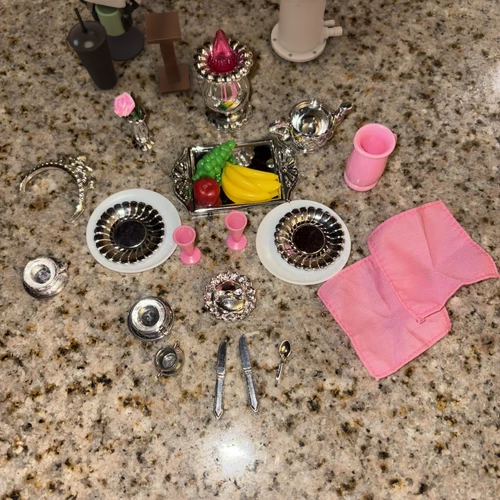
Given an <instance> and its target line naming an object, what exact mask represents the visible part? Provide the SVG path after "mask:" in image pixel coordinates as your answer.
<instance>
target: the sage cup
mask: <svg viewBox="0 0 500 500" xmlns="http://www.w3.org/2000/svg"><path fill="white" fill-rule="evenodd" d="M95 9H96V12H97V15H98V18H99V20H100V23H101V24H102V25H103V26H104V27H105V29H106V32H107V34H108V35H110V36H119V35H121V34H123V33H124V32H125V31H124V28H123V25H122V22H121V16H122V15H121V14H120V12H119V11H118V9H117V8H116V7H111V6H106V5H101V4H95Z"/></svg>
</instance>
